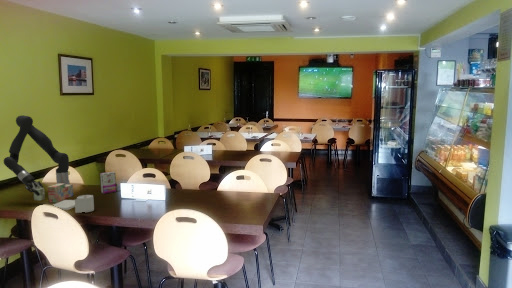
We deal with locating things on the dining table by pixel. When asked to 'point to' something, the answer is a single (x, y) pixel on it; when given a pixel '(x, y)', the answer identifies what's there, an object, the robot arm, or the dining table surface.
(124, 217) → the dining table surface
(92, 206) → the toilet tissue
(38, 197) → the sage block
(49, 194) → the colorful patterned box
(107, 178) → the candy bar box
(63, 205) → the cutting board
